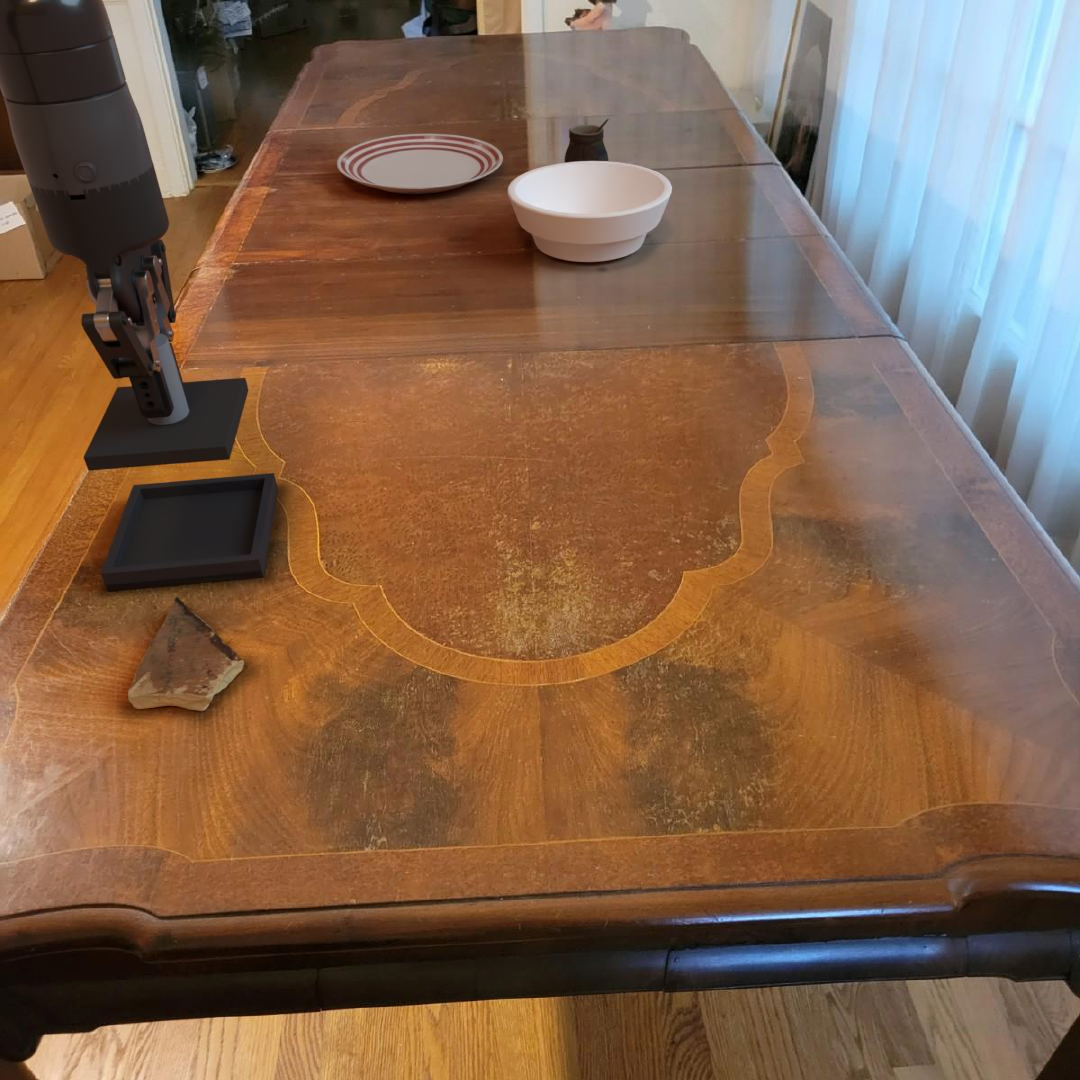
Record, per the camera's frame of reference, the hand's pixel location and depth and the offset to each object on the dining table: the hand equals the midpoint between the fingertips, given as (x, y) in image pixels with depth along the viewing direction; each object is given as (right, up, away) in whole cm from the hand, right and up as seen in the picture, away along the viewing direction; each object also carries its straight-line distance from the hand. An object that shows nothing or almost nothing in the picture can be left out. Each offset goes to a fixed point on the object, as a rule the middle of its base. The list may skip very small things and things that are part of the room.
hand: (163, 401), depth 73 cm
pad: (0, -2, +2) cm, 2 cm away
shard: (0, -20, +3) cm, 21 cm away
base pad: (-3, -10, +15) cm, 19 cm away
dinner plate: (+8, +51, +92) cm, 106 cm away
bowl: (+35, +31, +67) cm, 81 cm away
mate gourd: (+36, +49, +89) cm, 107 cm away
